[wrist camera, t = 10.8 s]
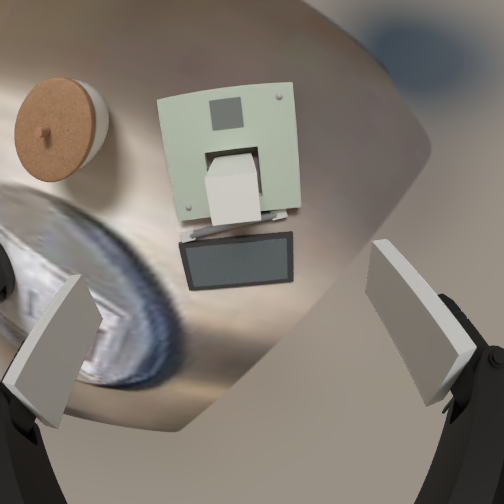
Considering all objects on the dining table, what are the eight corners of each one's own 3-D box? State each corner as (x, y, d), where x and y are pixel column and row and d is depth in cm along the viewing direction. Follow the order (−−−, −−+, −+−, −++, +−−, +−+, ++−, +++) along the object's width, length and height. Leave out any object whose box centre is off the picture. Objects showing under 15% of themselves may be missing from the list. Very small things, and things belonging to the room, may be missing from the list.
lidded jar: (111, 173, 30) (72, 199, 21) (46, 156, 27) (0, 176, 19) (134, 86, 25) (96, 82, 17) (62, 76, 23) (15, 75, 15)
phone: (190, 285, 38) (189, 290, 37) (180, 240, 35) (178, 244, 34) (292, 276, 38) (293, 281, 37) (291, 229, 35) (293, 233, 34)
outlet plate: (180, 216, 33) (178, 221, 31) (160, 100, 26) (156, 99, 25) (298, 202, 33) (301, 207, 31) (289, 83, 26) (292, 82, 25)
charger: (220, 191, 32) (212, 226, 23) (215, 157, 30) (204, 178, 21) (254, 187, 32) (261, 221, 23) (251, 152, 30) (256, 172, 21)
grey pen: (183, 240, 34) (182, 243, 34) (180, 232, 34) (178, 235, 33) (286, 214, 33) (287, 217, 33) (284, 206, 33) (286, 208, 32)
